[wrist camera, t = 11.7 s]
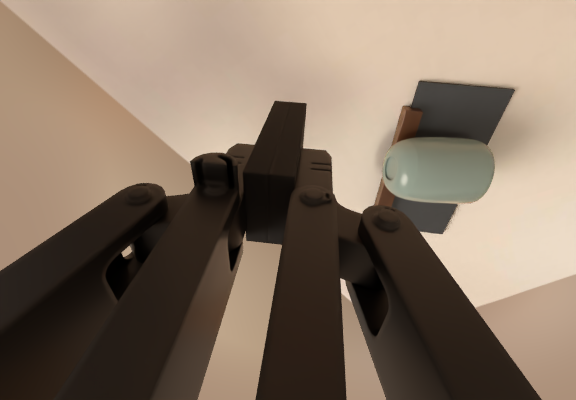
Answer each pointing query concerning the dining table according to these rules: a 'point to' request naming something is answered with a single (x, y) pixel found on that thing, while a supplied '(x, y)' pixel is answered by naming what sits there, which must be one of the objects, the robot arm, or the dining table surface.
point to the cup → (438, 169)
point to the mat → (452, 134)
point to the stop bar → (403, 131)
